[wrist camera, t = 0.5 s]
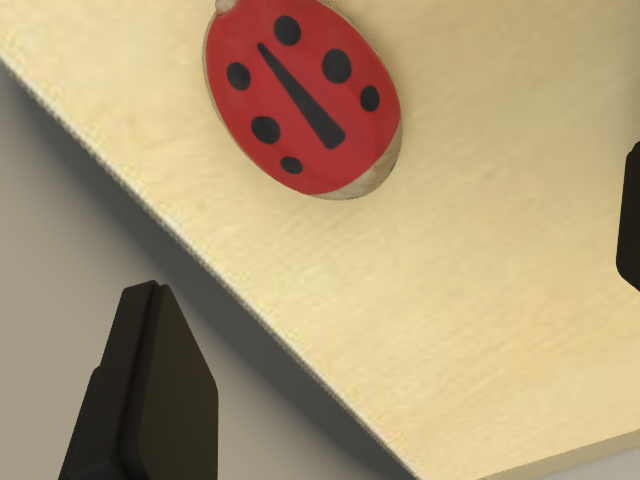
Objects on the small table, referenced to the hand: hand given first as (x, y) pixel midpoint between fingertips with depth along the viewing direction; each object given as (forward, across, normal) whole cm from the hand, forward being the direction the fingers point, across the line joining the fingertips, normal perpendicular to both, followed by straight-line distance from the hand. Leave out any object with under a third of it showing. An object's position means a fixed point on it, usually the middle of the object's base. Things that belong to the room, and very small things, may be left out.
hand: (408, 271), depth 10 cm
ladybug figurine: (+13, 0, 0) cm, 13 cm away
